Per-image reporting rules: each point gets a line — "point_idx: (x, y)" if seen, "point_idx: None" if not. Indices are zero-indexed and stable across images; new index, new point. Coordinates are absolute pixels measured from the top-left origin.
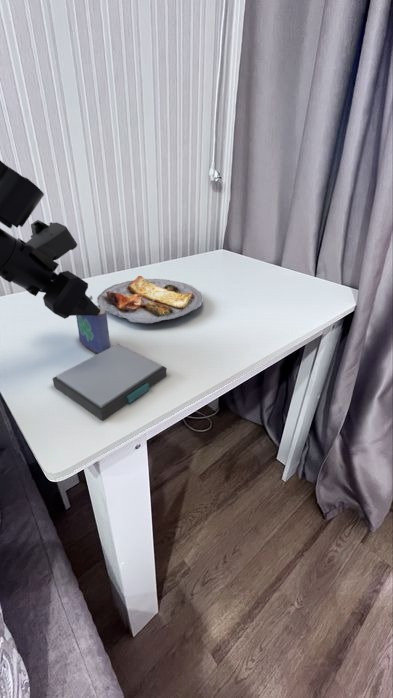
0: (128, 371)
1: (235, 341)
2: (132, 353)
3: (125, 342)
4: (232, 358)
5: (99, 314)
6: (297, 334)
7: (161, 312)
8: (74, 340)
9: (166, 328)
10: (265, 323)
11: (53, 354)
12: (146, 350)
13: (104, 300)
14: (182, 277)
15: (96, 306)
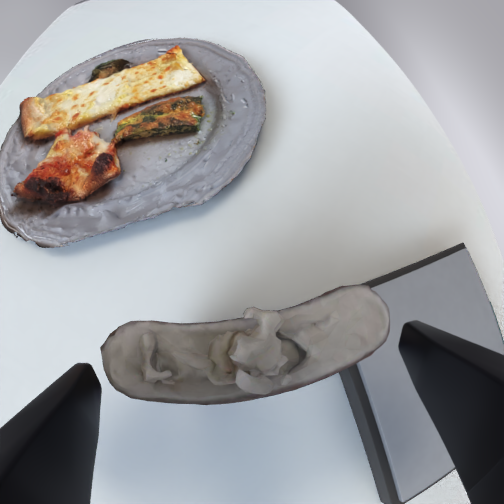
0: (466, 327)
1: (371, 91)
2: (405, 286)
3: (271, 268)
4: (421, 128)
5: (387, 330)
6: (376, 43)
7: (194, 118)
8: (166, 404)
9: (257, 145)
10: (330, 41)
11: (219, 484)
12: (342, 237)
13: (28, 217)
14: (76, 54)
15: (455, 336)
